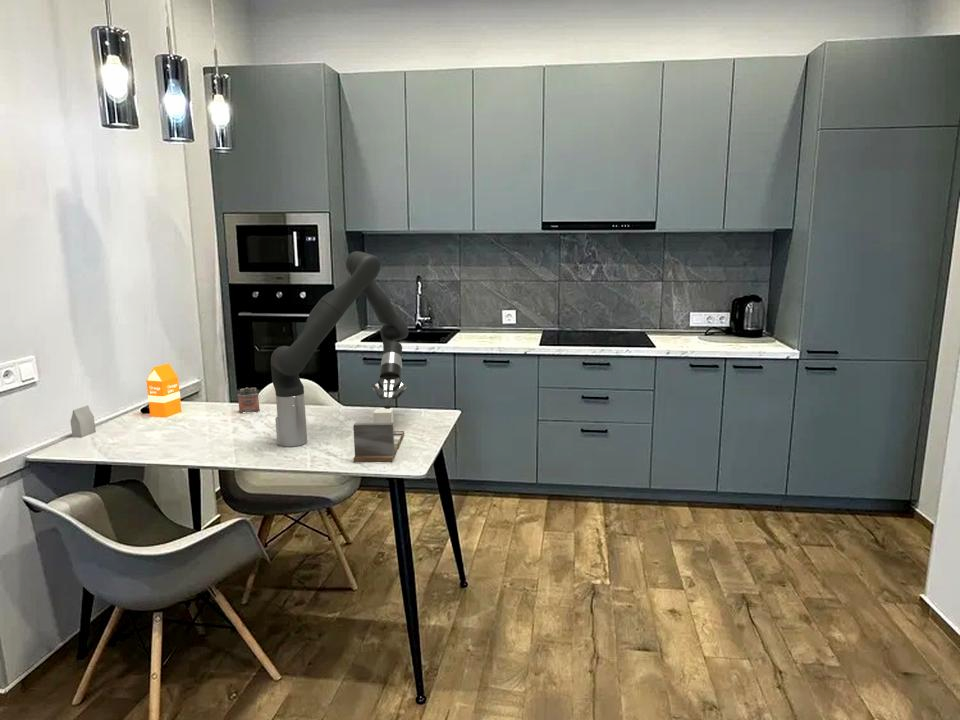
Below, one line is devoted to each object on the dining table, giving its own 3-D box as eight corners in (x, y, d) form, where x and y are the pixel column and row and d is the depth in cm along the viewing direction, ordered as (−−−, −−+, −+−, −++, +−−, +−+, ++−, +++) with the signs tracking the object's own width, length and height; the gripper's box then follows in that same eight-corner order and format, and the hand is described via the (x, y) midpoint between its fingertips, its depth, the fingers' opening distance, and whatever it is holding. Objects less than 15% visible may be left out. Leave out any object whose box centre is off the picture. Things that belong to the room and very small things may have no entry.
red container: (238, 413, 261) (236, 389, 259) (239, 411, 264) (237, 387, 262) (259, 412, 263) (257, 388, 261) (260, 410, 266) (258, 386, 264)
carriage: (377, 433, 227) (375, 408, 225) (403, 433, 227) (402, 408, 225) (373, 439, 220) (372, 414, 218) (400, 439, 220) (399, 414, 218)
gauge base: (370, 435, 231) (369, 403, 229) (404, 435, 230) (403, 403, 228) (353, 462, 203) (351, 427, 201) (392, 462, 203) (390, 426, 201)
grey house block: (95, 432, 239) (92, 405, 237) (81, 437, 233) (77, 410, 231) (87, 431, 240) (83, 405, 238) (72, 437, 233) (68, 410, 231)
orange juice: (149, 416, 259) (144, 366, 255) (166, 410, 268) (161, 362, 264) (166, 417, 257) (160, 367, 253) (182, 411, 265) (177, 363, 261)
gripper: (371, 361, 238) (367, 403, 228) (407, 361, 238) (404, 402, 228) (374, 373, 244) (370, 413, 235) (410, 372, 244) (407, 413, 234)
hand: (387, 408), depth 231 cm, fingers closed
